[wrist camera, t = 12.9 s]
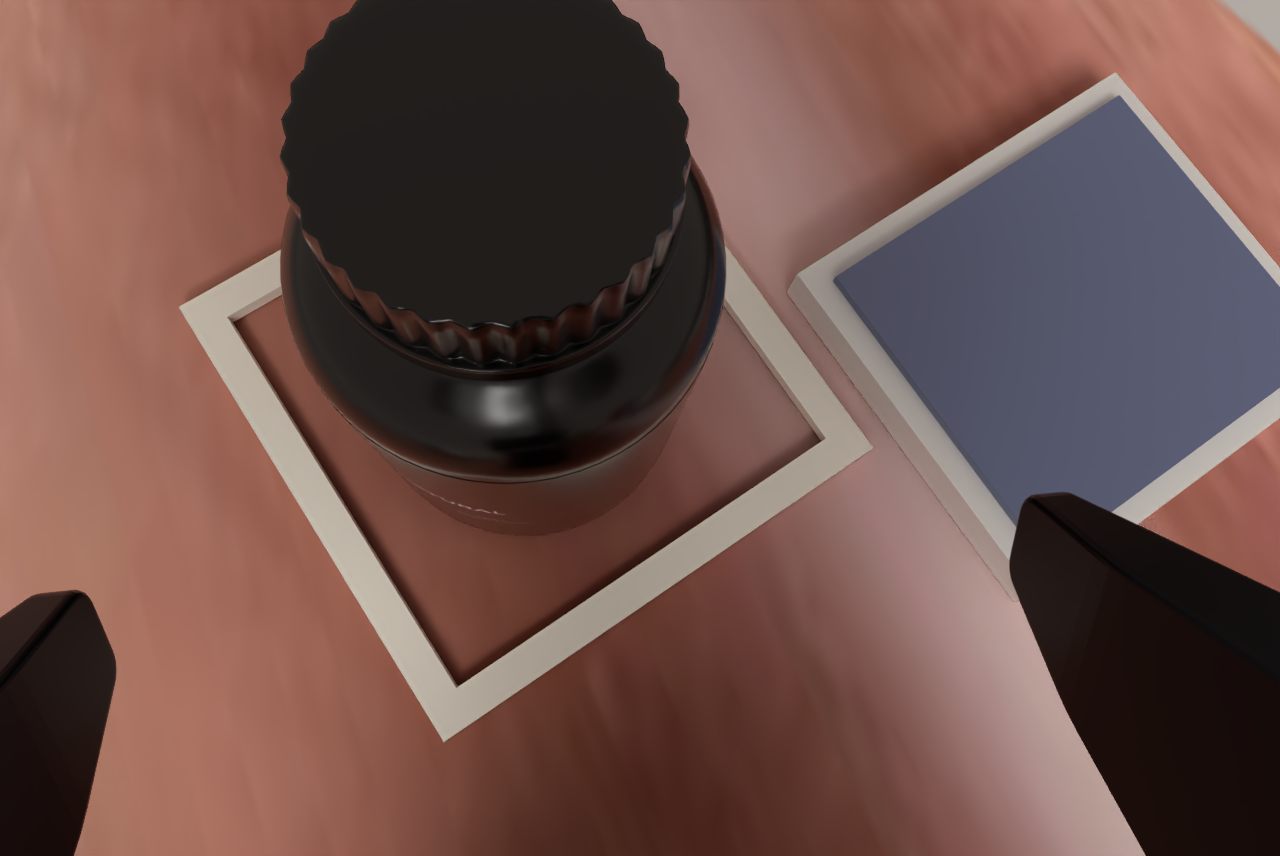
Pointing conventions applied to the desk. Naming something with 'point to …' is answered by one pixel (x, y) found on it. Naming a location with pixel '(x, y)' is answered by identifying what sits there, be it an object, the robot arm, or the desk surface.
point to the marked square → (593, 616)
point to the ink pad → (1058, 322)
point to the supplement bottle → (499, 250)
